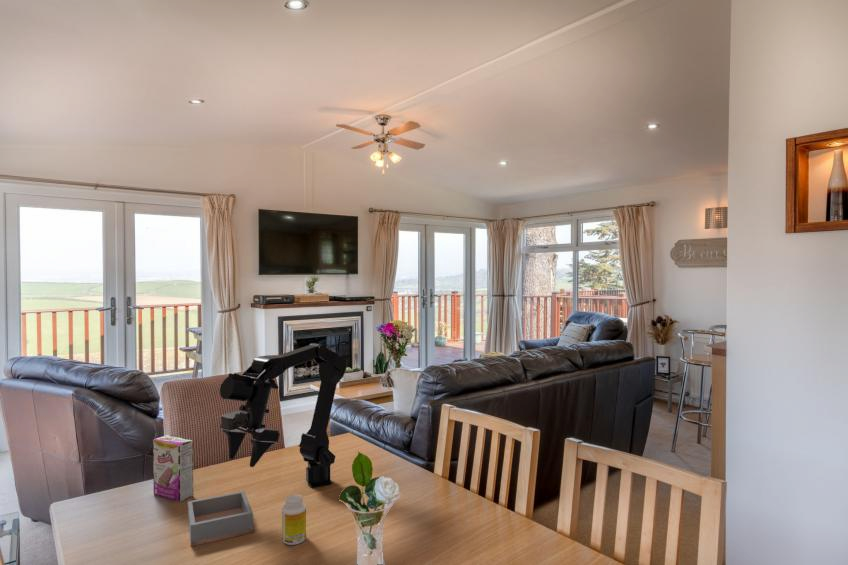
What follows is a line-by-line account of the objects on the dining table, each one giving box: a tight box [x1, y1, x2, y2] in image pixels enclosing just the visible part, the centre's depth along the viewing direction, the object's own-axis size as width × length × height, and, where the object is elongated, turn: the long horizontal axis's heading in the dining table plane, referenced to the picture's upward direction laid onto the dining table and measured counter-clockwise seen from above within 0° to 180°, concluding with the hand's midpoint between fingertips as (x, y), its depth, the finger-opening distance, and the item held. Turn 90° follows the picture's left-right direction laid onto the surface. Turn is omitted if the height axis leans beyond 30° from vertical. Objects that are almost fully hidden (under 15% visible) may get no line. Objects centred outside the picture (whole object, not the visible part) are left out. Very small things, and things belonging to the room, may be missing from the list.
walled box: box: [187, 490, 254, 547], centre depth 129 cm, size 14×14×5 cm
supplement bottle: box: [281, 494, 307, 546], centre depth 122 cm, size 6×6×10 cm
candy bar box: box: [152, 434, 194, 503], centre depth 146 cm, size 11×5×16 cm, turn 65°
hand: (241, 462), depth 134 cm, fingers open, 9 cm apart
